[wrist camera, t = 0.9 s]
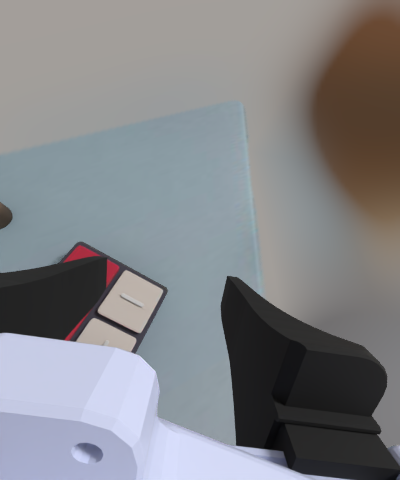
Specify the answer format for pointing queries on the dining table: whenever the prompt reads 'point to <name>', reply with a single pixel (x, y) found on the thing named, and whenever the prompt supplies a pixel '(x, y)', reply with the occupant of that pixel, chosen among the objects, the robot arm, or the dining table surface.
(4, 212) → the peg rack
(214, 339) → the dining table surface
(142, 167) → the dining table surface
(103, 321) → the calculator
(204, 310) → the dining table surface
